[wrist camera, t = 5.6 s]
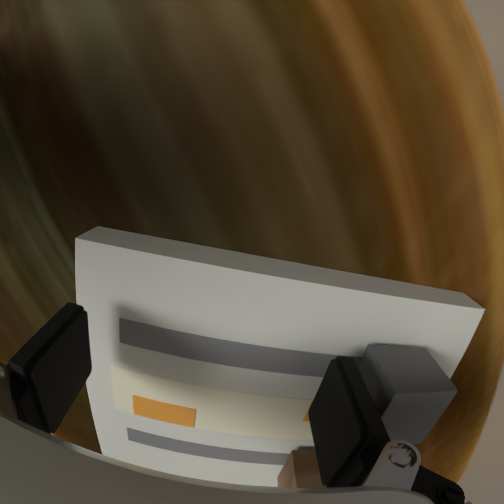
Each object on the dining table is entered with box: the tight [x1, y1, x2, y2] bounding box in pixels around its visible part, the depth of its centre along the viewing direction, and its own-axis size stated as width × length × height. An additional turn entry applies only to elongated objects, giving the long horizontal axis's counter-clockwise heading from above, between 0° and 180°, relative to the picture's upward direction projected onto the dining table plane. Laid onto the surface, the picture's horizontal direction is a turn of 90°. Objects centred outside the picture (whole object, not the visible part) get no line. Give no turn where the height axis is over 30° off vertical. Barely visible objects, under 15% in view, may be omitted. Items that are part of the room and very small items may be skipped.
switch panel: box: [75, 226, 485, 487], centre depth 14 cm, size 14×18×2 cm
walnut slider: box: [277, 450, 327, 488], centre depth 12 cm, size 3×3×3 cm
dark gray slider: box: [358, 344, 458, 445], centre depth 10 cm, size 3×3×3 cm
